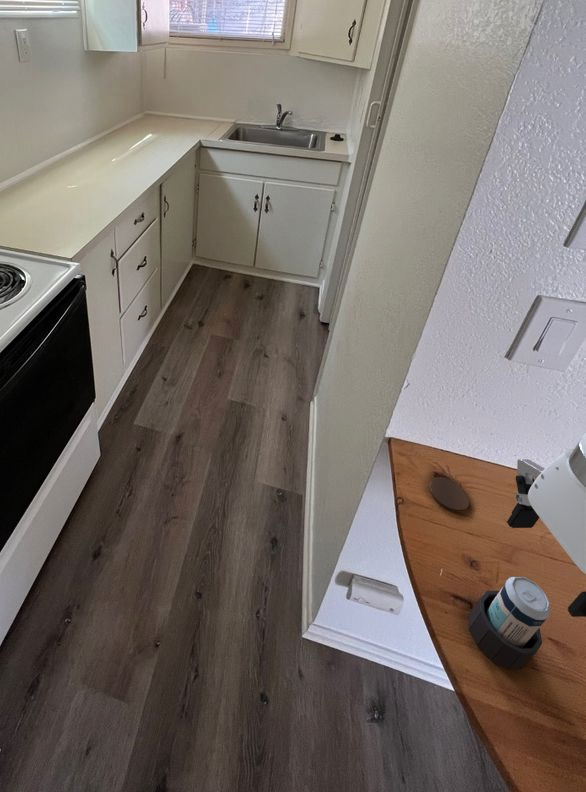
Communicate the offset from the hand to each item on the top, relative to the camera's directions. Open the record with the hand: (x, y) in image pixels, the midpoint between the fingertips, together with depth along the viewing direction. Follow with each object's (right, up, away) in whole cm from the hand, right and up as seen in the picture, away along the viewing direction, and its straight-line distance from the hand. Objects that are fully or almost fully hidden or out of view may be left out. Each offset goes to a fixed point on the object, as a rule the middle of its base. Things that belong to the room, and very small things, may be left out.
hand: (547, 565), depth 53 cm
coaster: (+5, -7, +27) cm, 28 cm away
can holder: (0, -16, +8) cm, 18 cm away
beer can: (0, -16, +8) cm, 19 cm away
